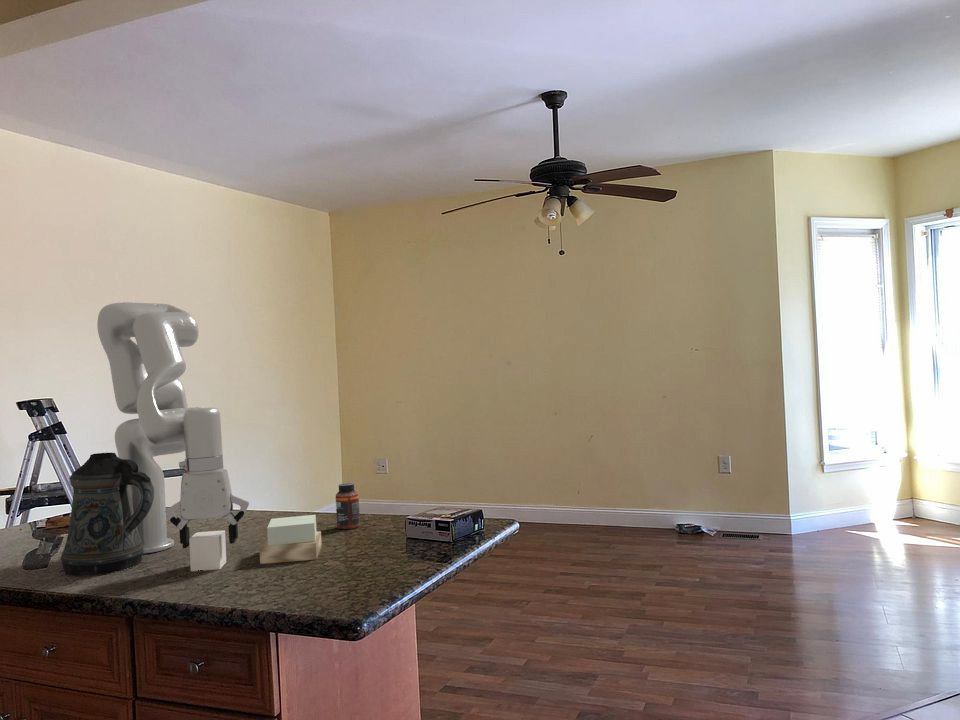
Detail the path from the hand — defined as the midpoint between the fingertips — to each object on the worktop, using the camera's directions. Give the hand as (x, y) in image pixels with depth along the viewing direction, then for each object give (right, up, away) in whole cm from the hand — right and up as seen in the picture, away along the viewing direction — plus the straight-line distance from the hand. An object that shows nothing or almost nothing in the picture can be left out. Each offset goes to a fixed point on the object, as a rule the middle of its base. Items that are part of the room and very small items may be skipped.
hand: (209, 544), depth 159 cm
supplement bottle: (+24, -4, +34) cm, 41 cm away
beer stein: (-24, -6, +6) cm, 26 cm away
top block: (+16, -1, +8) cm, 18 cm away
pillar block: (0, -5, 0) cm, 5 cm away
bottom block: (+16, -5, +7) cm, 18 cm away
